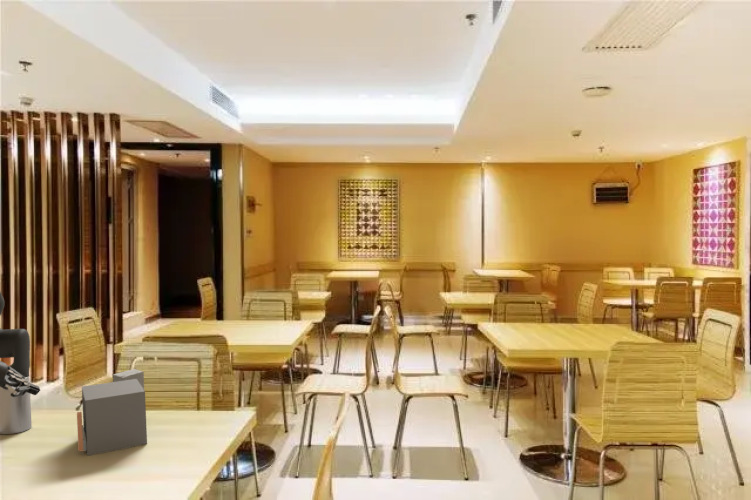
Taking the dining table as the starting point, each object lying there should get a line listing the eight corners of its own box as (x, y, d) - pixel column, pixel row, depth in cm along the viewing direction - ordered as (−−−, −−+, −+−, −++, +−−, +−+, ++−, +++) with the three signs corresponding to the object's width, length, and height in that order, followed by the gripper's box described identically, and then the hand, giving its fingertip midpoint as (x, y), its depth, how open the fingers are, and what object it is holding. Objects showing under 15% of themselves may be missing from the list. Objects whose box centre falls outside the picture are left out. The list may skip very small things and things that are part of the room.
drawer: (76, 436, 177) (74, 400, 177) (133, 426, 185) (131, 391, 185) (78, 452, 164) (76, 413, 164) (139, 440, 172) (138, 403, 172)
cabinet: (83, 437, 179) (81, 386, 179) (138, 427, 187) (136, 378, 187) (87, 455, 164) (85, 400, 163) (147, 443, 172) (144, 391, 171)
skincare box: (135, 412, 204) (133, 368, 203) (147, 415, 200) (145, 370, 199) (112, 418, 197) (110, 373, 196) (124, 422, 193) (122, 375, 192)
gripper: (-2, 372, 150) (53, 393, 163) (-13, 346, 158) (40, 368, 171) (-24, 395, 148) (34, 414, 161) (-34, 367, 157) (22, 388, 170)
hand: (37, 391), depth 166 cm, fingers closed
